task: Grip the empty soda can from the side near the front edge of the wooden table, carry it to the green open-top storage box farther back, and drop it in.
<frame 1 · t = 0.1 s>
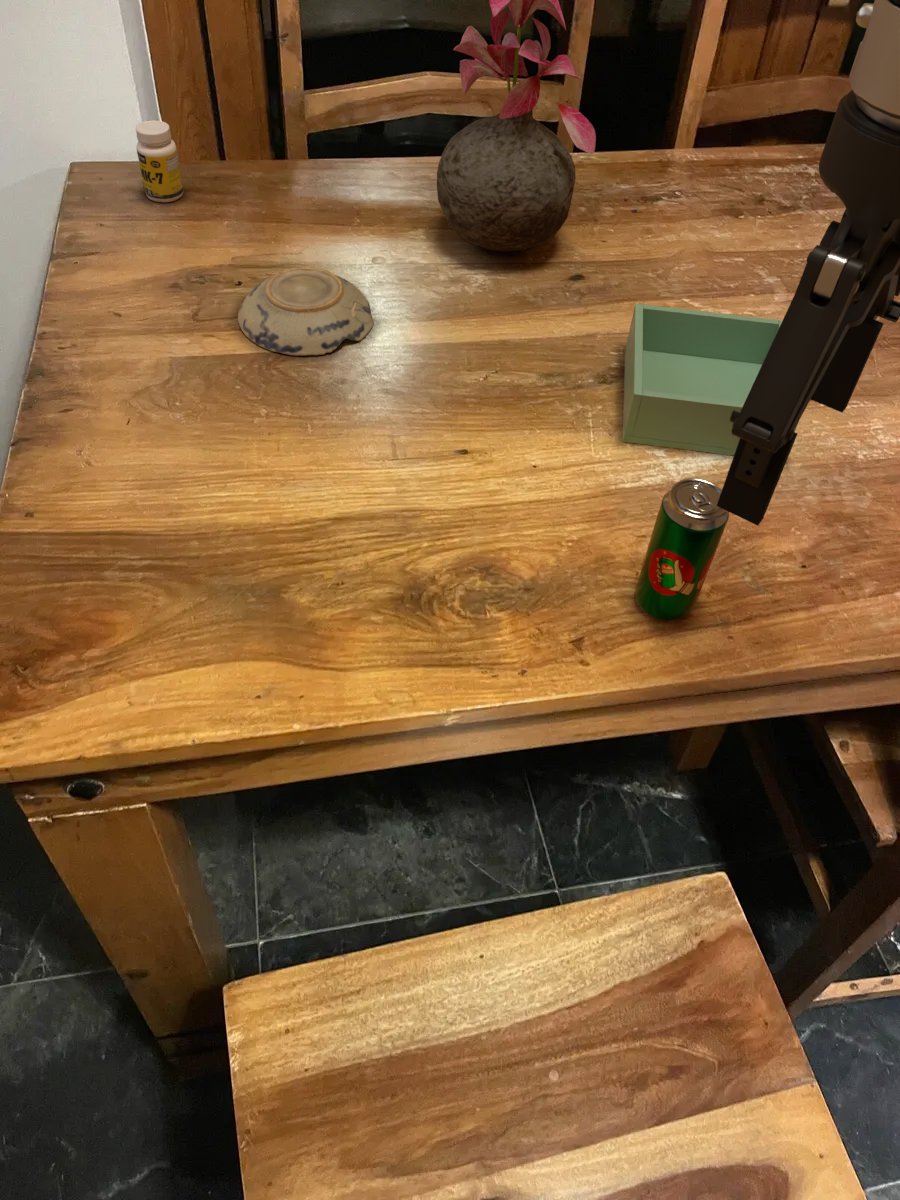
hand: (784, 454, 60), 21 cm above the table, tool pointing down, fingers open, 13 cm apart
green open-top storage box: (699, 402, 96), on the table
decorative bowl: (307, 318, 103), on the table
soda can: (662, 603, 79), on the table
vase: (504, 242, 116), on the table
supplement bottle: (165, 196, 120), on the table
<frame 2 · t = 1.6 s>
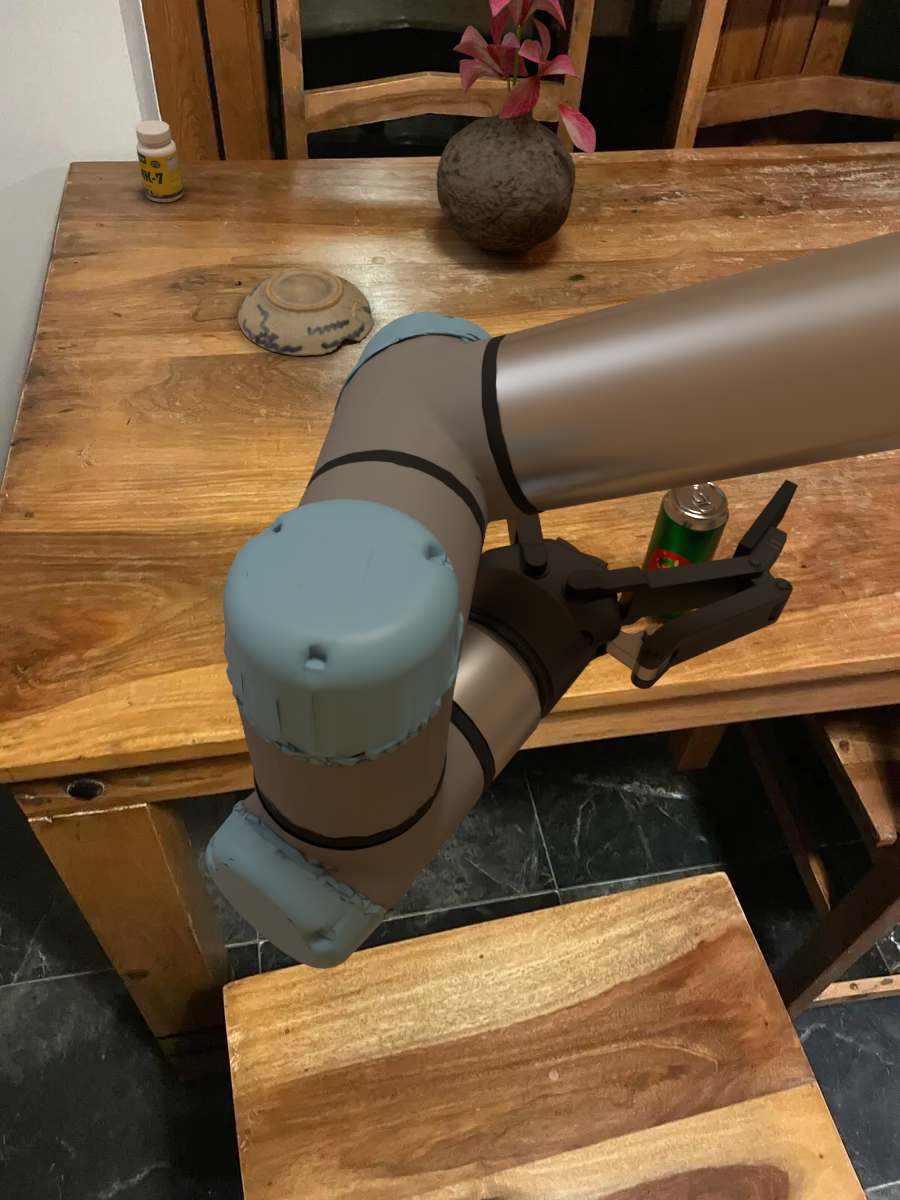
hand: (681, 449, 57), 22 cm above the table, tool horizontal, fingers open, 13 cm apart
nothing on the table moved.
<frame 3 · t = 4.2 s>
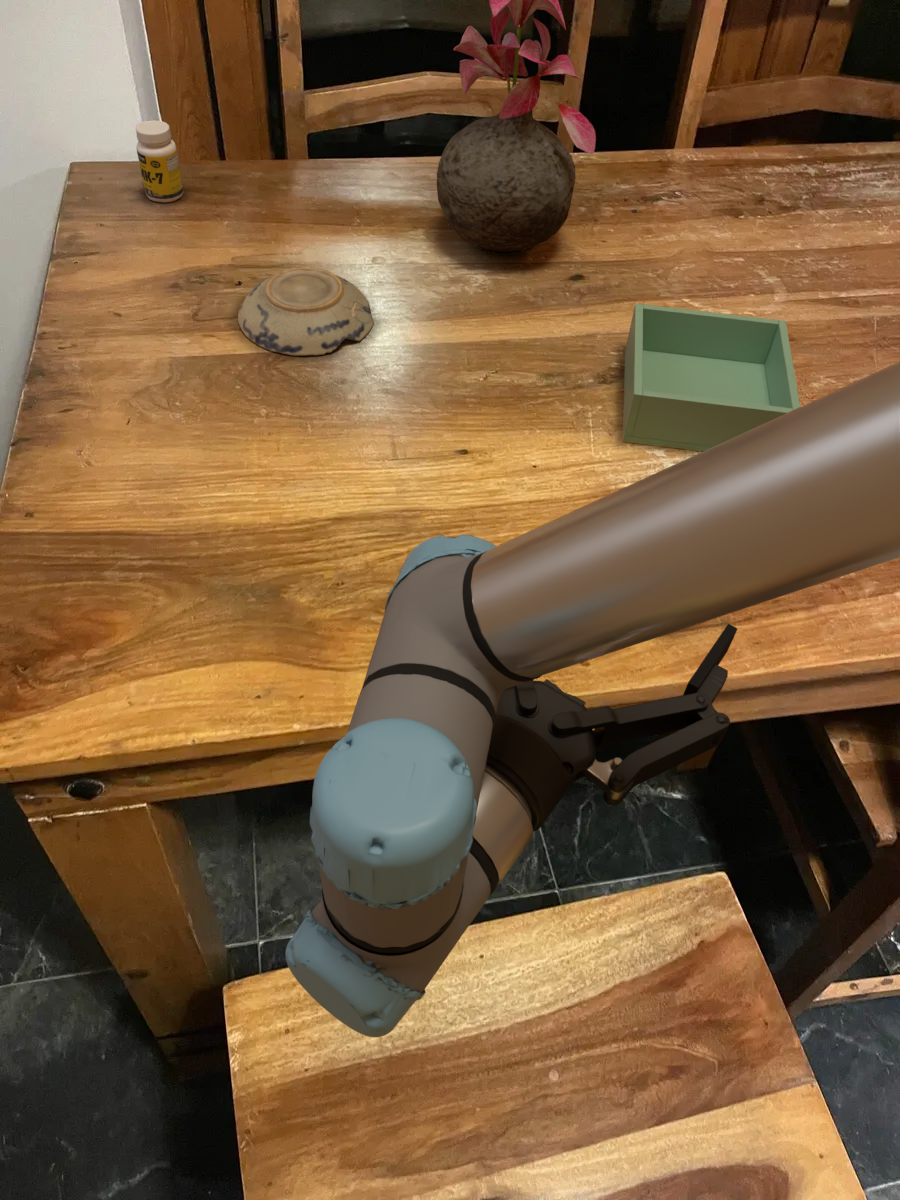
hand: (645, 593, 70), 7 cm above the table, tool horizontal, fingers open, 13 cm apart
nothing on the table moved.
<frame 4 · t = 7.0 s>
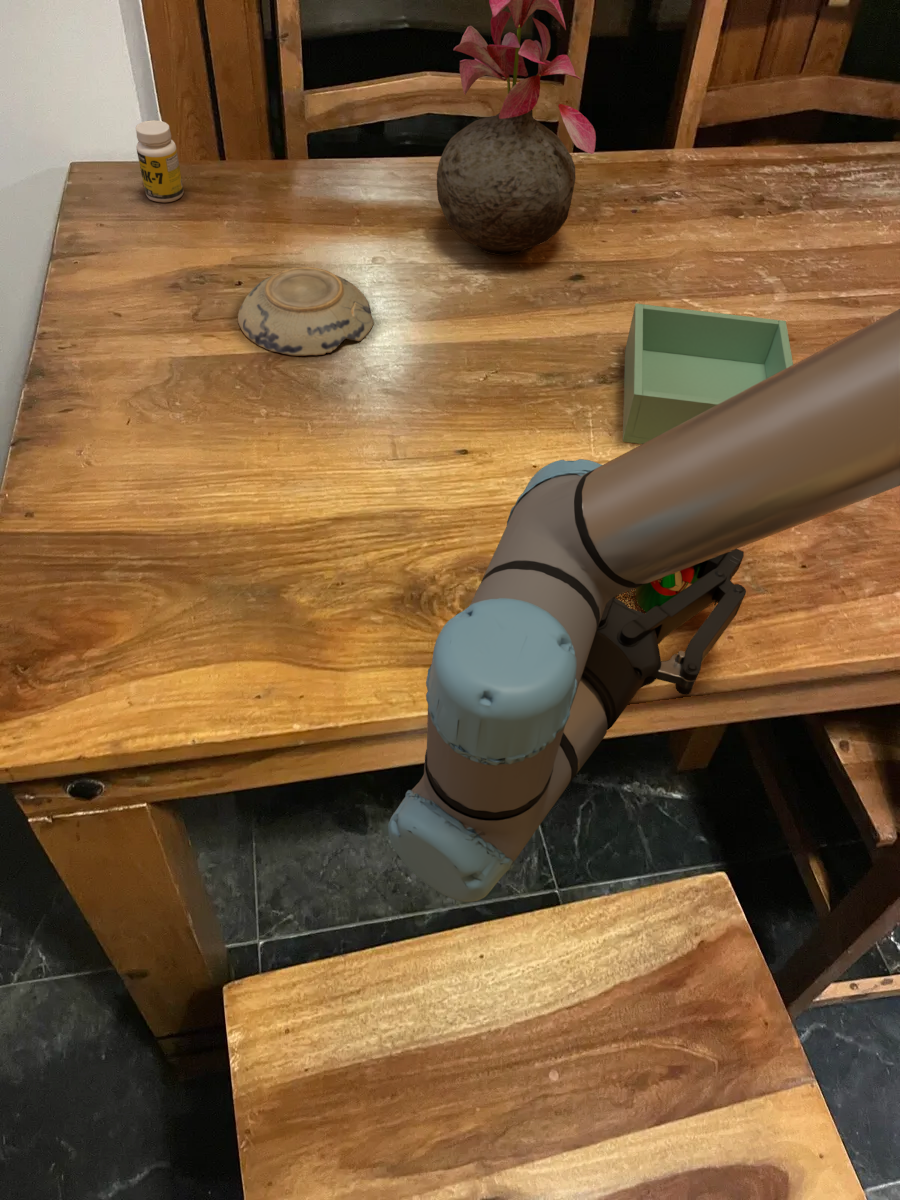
hand: (710, 511, 76), 7 cm above the table, tool horizontal, fingers closed on soda can, 5 cm apart
soda can: (662, 603, 79), on the table, touching gripper
everything else where it was.
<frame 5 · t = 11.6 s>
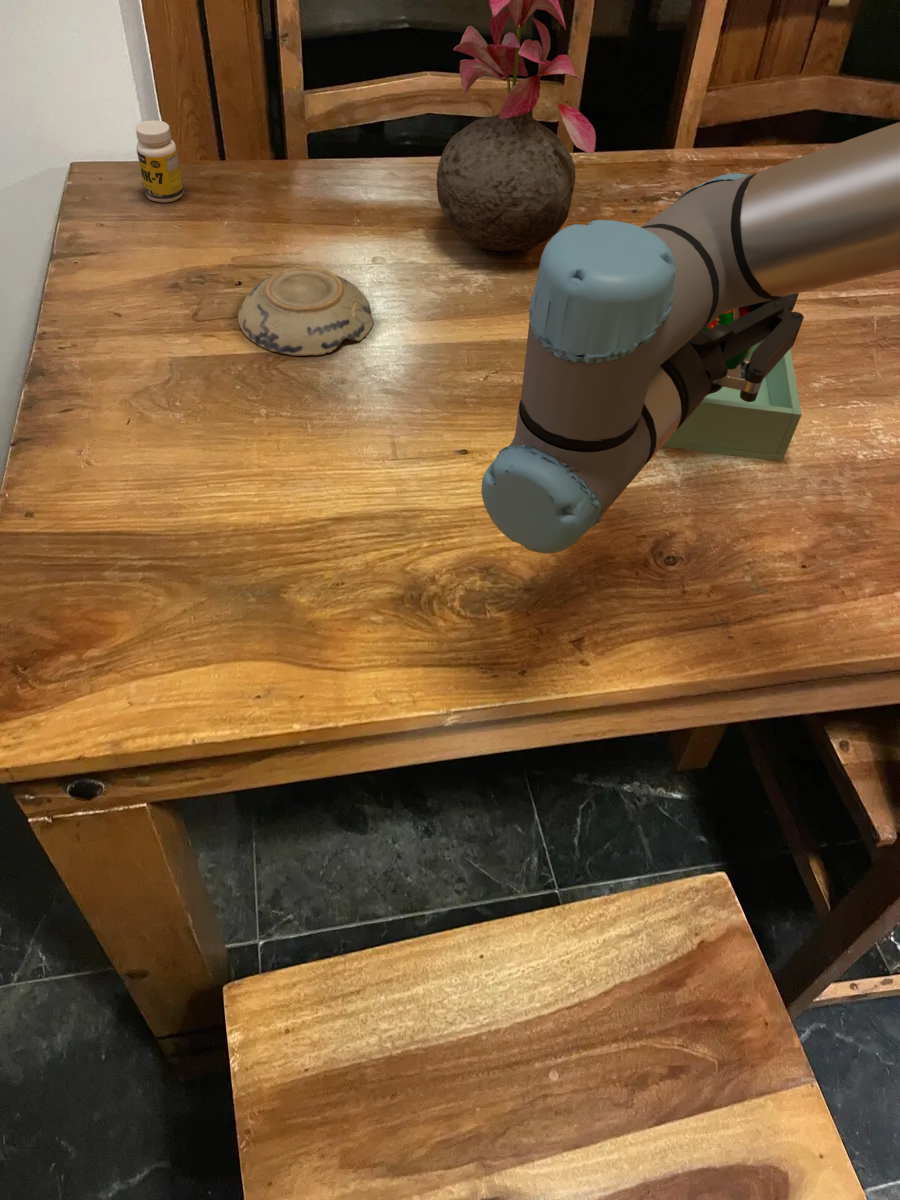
hand: (763, 265, 80), 18 cm above the table, tool horizontal, fingers closed on soda can, 5 cm apart
soda can: (717, 360, 82), point 11 cm above the table, touching gripper
everything else where it was.
when the fingers open (7 cm above the table, at t = 16.1 s): soda can stays where it is, resting on green open-top storage box.
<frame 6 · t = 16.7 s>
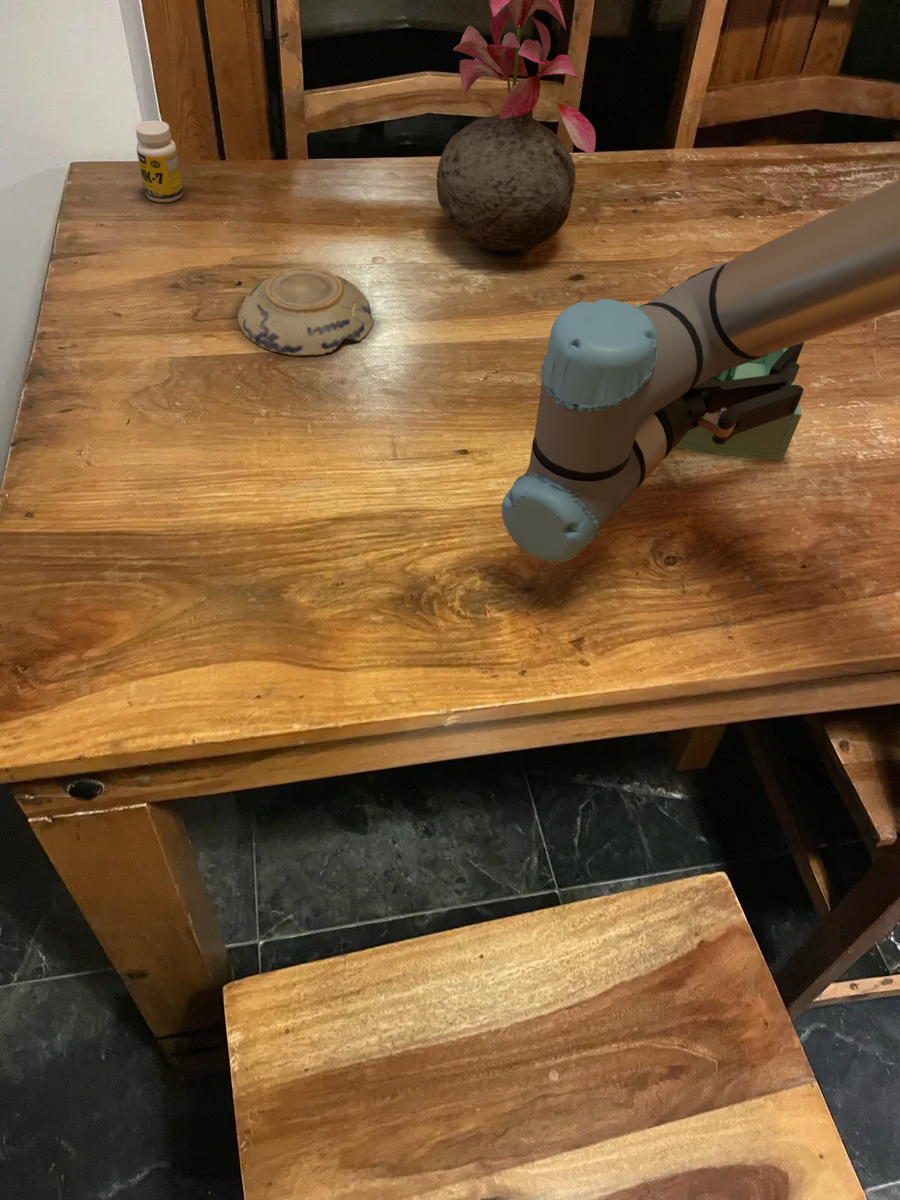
hand: (733, 323, 92), 8 cm above the table, tool horizontal, fingers open, 13 cm apart
soda can: (700, 398, 96), point 1 cm above the table, touching green open-top storage box
everything else where it was.
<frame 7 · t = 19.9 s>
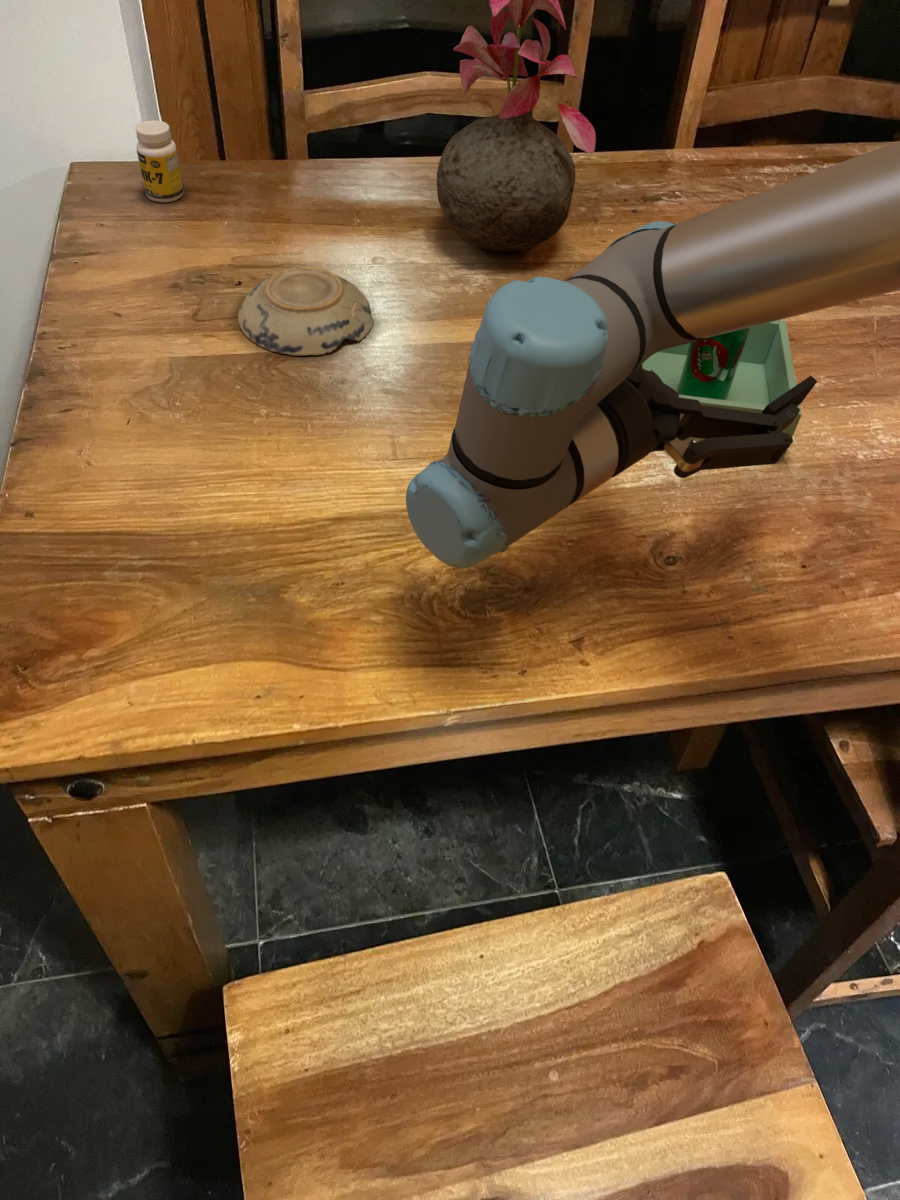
hand: (746, 339, 81), 13 cm above the table, tool horizontal, fingers open, 13 cm apart
nothing on the table moved.
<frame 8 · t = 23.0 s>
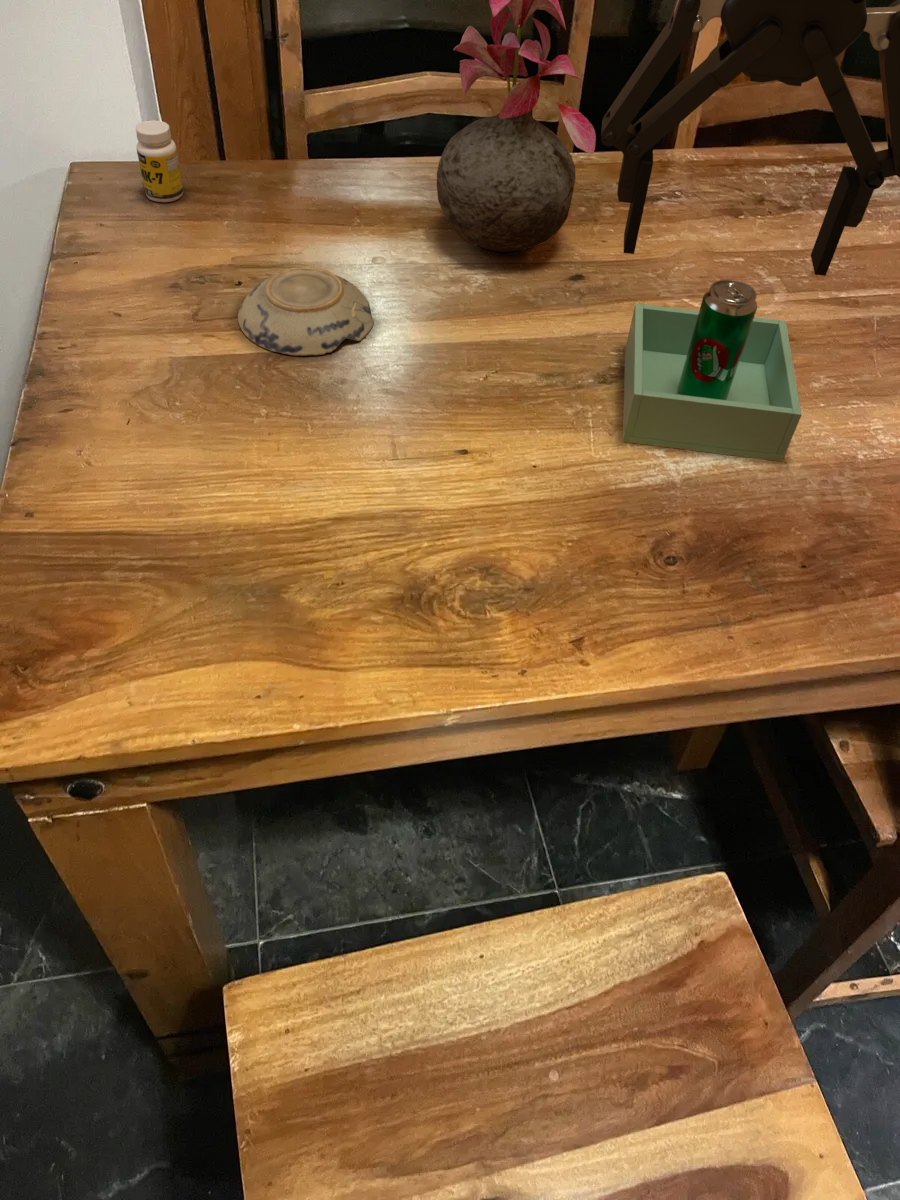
hand: (722, 255, 68), 25 cm above the table, tool pointing down, fingers open, 13 cm apart
nothing on the table moved.
at the end: soda can inside the target area in the green open-top storage box (0.0 cm from its centre), point 0.6 cm above the green open-top storage box's base; the gripper is holding nothing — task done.
